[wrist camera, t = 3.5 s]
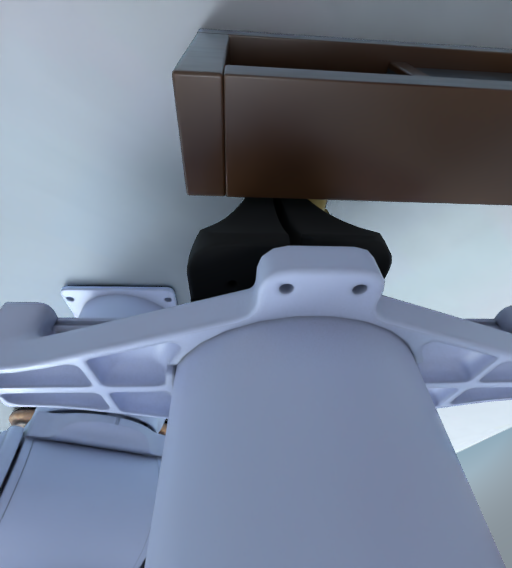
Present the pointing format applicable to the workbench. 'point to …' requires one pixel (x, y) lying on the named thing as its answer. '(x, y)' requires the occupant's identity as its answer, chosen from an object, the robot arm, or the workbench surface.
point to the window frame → (344, 119)
